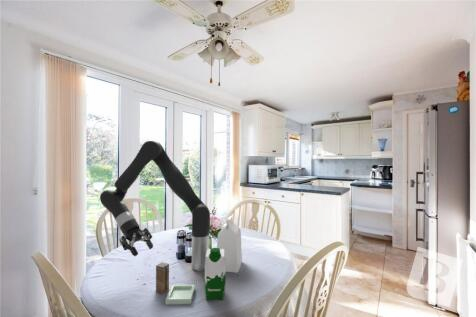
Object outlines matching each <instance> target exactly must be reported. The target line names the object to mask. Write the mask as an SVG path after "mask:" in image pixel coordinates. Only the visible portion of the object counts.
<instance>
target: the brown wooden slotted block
mask: <svg viewBox="0 0 476 317" xmlns="http://www.w3.org/2000/svg"><path fill="white" fill-rule="evenodd" d="M169 291H170V263H167V262H163V261H161V262H159V263H158V264H156V265H155V292H156V293H158V294H161V295H164V294H165V293H166V292H169Z"/></svg>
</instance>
